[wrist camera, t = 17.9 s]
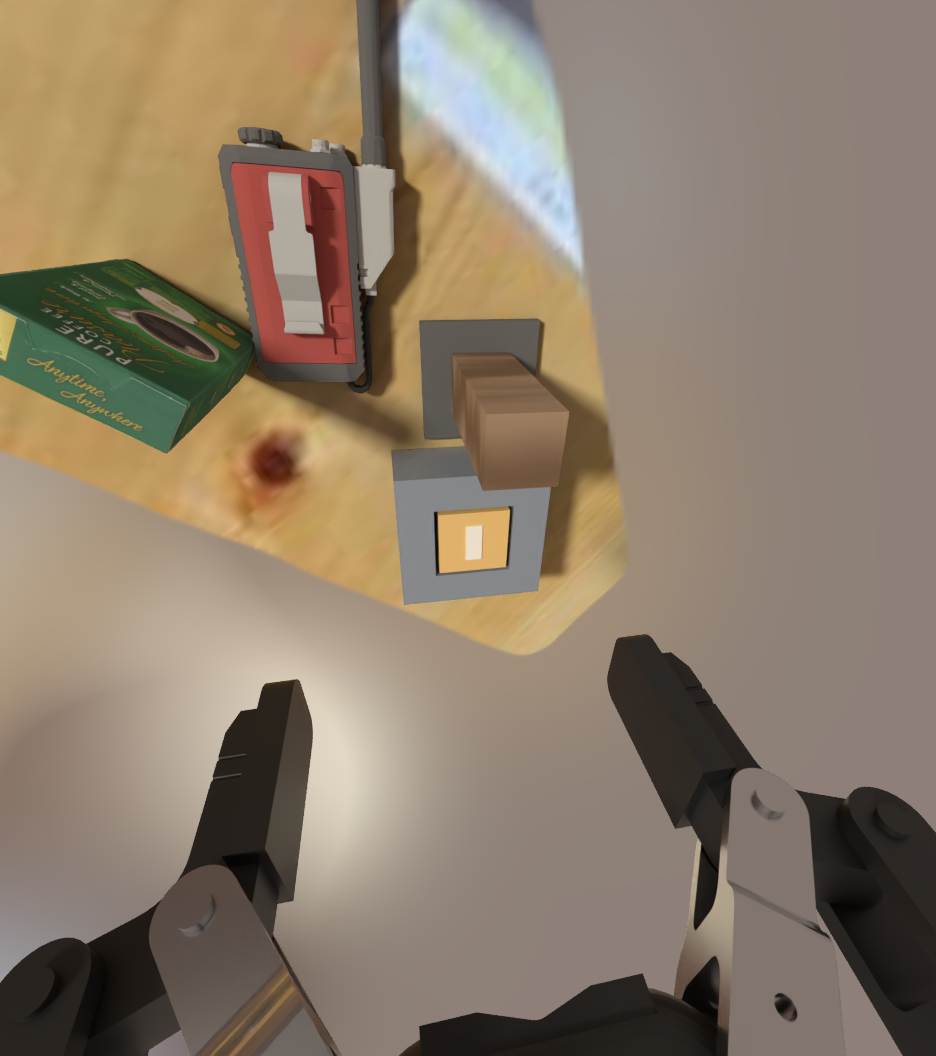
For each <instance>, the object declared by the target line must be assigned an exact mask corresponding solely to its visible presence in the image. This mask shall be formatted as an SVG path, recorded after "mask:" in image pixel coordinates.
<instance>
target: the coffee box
mask: <svg viewBox="0 0 936 1056" xmlns="http://www.w3.org/2000/svg"><path fill="white" fill-rule="evenodd" d="M252 338H253V336H252V335H250V334H249V333H247V332H246V331H244V330H242V329H241V328H240V327H238V326H237V325H235V324H234V323H232V322H230V321H229V320H226V319H224V318H223V317H221V316H219V315H218V314H216V313H214V312H213V311H211V310H209V309H208V308H206V307H205V306H203V305H202V304H200V303H198V302H197V301H195V300H193V299H192V298H190V297H189V296H187V295H185V294H184V293H182V292H181V291H179V290H177V289H176V288H174V287H172V286H171V285H169V284H168V283H166V282H165V281H163V280H161V279H160V278H158V277H157V276H155V275H153V274H151V273H150V272H148V271H147V270H145V269H143V268H142V267H140V266H138V265H137V264H135V263H134V262H132V261H130V260H129V259H120V260H119V259H114V260H108V261H104V262H97V263H88V264H80V265H73V266H64V267H55V268H47V269H39V270H32V271H23V272H14V273H7V274H0V376H3V377H5V378H7V379H9V380H11V381H13V382H15V383H17V384H19V385H22V386H24V387H26V388H28V389H30V390H32V391H34V392H36V393H38V394H40V395H42V396H45V397H47V398H49V399H51V400H53V401H55V402H57V403H59V404H62V405H64V406H66V407H68V408H70V409H72V410H74V411H76V412H79V413H81V414H83V415H85V416H87V417H89V418H91V419H93V420H95V421H98V422H100V423H102V424H104V425H106V426H108V427H110V428H112V429H114V430H116V431H119V432H121V433H123V434H125V435H127V436H129V437H132V438H134V439H136V440H138V441H140V442H142V443H144V444H146V445H149V446H151V447H153V448H155V449H157V450H159V451H161V452H163V453H166V454H167V453H168V452H169V451H170V450H172V448H173V447H174V446H175V445H176V444H177V443H178V442H179V441H180V440H181V439H182V438H183V437H184V436H185V435H186V434H187V433H189V432H190V431H191V430H192V429H193V428H194V427H195V426H196V425H197V424H198V423H199V422H200V421H201V420H202V419H203V418H204V417H205V416H206V415H207V414H208V413H209V412H210V411H211V410H212V409H213V408H214V407H215V406H216V404H217V403H218V402H219V401H220V400H221V399H222V398H223V397H224V396H226V395H227V394H228V393H229V392H230V391H231V389H232V388H233V387H234V386H235V385H236V384H237V383H238V382H239V381H240V379H242V377H243V376H244V374H245V373H246V371H247V369H248V367H249V365H250V363H251V361H252V359H253V357H254V355H255V353H256V352H255V351H254V347H255V345H254V342H253V341H252Z"/></svg>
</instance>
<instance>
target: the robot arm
mask: <svg viewBox="0 0 936 1056" xmlns="http://www.w3.org/2000/svg"><path fill="white" fill-rule="evenodd" d="M607 682H608V689H609V693H610V696H611V699H612V701H613V703H614V705H615V707H616V709H617V711H618V713H619V715H620V717H621V719H622V721H623V723H624V725H625V727H626V729H627V731H628V733H629V735H630V738H631V739H632V742H633V744H634V746H635V748H636V750H637V752H638V754H639V755H640V758H641V760H642V762H643V764H644V766H645V768H646V770H647V772H648V774H649V776H650V778H651V780H652V782H653V784H654V786H655V788H656V790H657V793H658V795H659V797H660V799H661V801H662V803H663V805H664V807H665V809H666V811H667V813H668V815H669V817H670V819H671V821H672V823H673V825H674V827H675V829H677V828H682V827H687V826H692V827H693V829H694V831H695V833H696V835H697V837H698V840H697V844H696V852H695V861H694V870H693V879H692V889H691V897H690V906H689V916H688V925H687V932H686V937H685V941H684V945H683V948H682V951H681V954H680V959H679V962H678V967H677V973H676V980H675V988H674V996H672V995H670V994H668V993H665V992H662V991H659V990H656V989H652V988H648V987H647V984H646V982H645V979H644V976H643V974H638V975H634V976H630V977H625V978H621V979H617V980H613V981H609V982H605V983H600V984H596V985H591V986H589V987H588V988H587V989H585V990H584V991H582V992H581V993H580V994H578V995H576V996H575V997H573V998H572V999H571V1000H569V1001H568V1002H566V1003H565V1004H563V1005H562V1006H560V1007H559V1008H557V1009H556V1010H555V1011H553V1012H552V1013H550V1014H549V1015H547V1016H546V1017H544V1018H543V1019H540V1020H527V1019H520V1018H512V1017H505V1016H498V1015H490V1014H484V1013H473V1014H469V1015H465V1016H460V1017H456V1018H453V1019H448V1020H444V1021H440V1022H435V1023H431V1024H427V1025H423V1026H419V1030H420V1040H418V1041H417V1042H416V1043H414V1044H413V1045H412V1046H410V1047H408V1048H407V1049H406V1050H405V1051H404V1052H403V1053H401V1054H400V1055H399V1056H846V1052H845V1041H844V1031H843V1021H842V1010H841V1001H840V989H839V979H838V969H837V960H836V954H835V949H834V946H833V943H832V941H831V939H830V937H829V936H828V935H827V934H826V933H825V932H823V931H821V929H820V927H819V925H818V922H817V916H816V909H817V911H818V912H819V914H820V916H821V918H822V919H823V921H824V923H825V924H826V926H827V928H828V929H829V931H830V933H831V934H832V936H833V938H834V940H835V941H836V943H837V945H838V946H839V948H840V950H841V952H842V953H843V955H844V957H845V958H846V960H847V961H848V963H849V965H850V967H851V968H852V970H853V972H854V973H855V975H856V977H857V979H858V980H859V982H860V984H861V986H862V987H863V989H864V991H865V992H866V994H867V996H868V997H869V999H870V1001H871V1003H872V1004H873V1006H874V1008H875V1009H876V1011H877V1013H878V1014H879V1016H880V1018H881V1019H882V1021H883V1023H884V1025H885V1026H886V1028H887V1030H888V1031H889V1033H890V1035H891V1037H892V1038H893V1040H894V1042H895V1043H896V1045H897V1047H898V1048H899V1050H900V1052H901V1054H902V1055H903V1056H936V832H935V831H934V830H933V829H932V828H931V827H930V825H929V824H928V823H927V822H926V821H925V820H924V818H923V817H922V816H921V815H920V814H919V813H918V812H917V811H916V810H915V809H913V808H912V807H911V806H910V805H909V804H907V803H906V802H905V801H903V800H902V799H900V798H898V797H897V796H895V795H893V794H891V793H889V792H887V791H884V790H881V789H878V788H873V787H861V788H857V789H855V790H854V791H853V792H852V793H851V794H850V795H849V796H848V797H847V799H843V798H837V797H831V796H825V795H819V794H813V793H807V792H803V791H798V790H795V789H794V788H793V787H792V786H790V784H788V783H787V782H786V781H785V780H783V779H782V778H780V777H779V776H777V775H775V774H773V773H771V772H769V771H766V770H763V769H762V768H761V767H760V766H759V765H758V764H757V763H756V761H755V760H754V759H753V757H752V756H751V754H750V753H749V752H748V750H747V749H746V747H745V746H744V744H743V743H742V742H741V740H740V739H739V737H738V736H737V734H736V733H735V732H734V730H733V729H732V727H731V726H730V724H729V723H728V722H727V720H726V719H725V717H724V716H723V715H722V713H721V712H720V710H719V709H718V707H717V706H716V704H713V702H712V699H711V697H710V696H709V694H708V693H707V692H706V690H705V689H703V688H702V684H701V683H700V682H699V680H698V679H697V677H696V676H695V674H694V673H693V671H692V670H691V669H690V667H689V666H687V665H686V664H685V663H684V662H682V661H681V660H680V659H679V658H677V657H676V656H675V655H674V654H672V653H671V652H669V653H662V652H661V651H660V649H659V648H658V646H657V645H656V643H655V642H654V640H653V639H652V638H651V637H650V636H649V635H646V634H644V635H636V636H628V637H621V638H618V639H617V640H616V643H615V647H614V651H613V655H612V659H611V663H610V668H609V671H608V676H607ZM312 739H313V729H312V720H311V715H310V712H309V709H308V706H307V703H306V699H305V697H304V693H303V690H302V687H301V684H300V681H299V680H297V679H296V680H289V681H281V682H273V683H266V684H265V685H264V686H263V688H262V691H261V695H260V699H259V703H258V707H257V709H252V710H245V711H241V712H240V713H239V714H238V716H237V717H236V719H235V720H234V722H233V723H232V724H231V726H230V727H229V729H228V730H227V732H226V733H225V736H224V740H223V743H222V746H221V750H220V753H219V761H217V764H216V767H215V770H214V774H213V781H212V782H211V784H210V788H209V791H208V794H207V798H206V801H205V805H204V809H203V812H202V815H201V819H200V822H199V825H198V829H197V832H196V836H195V839H194V843H193V846H192V849H191V853H190V856H189V860H188V862H187V864H186V867H185V869H184V871H183V873H182V874H181V876H180V878H179V879H178V881H177V882H176V883H175V884H174V885H173V886H172V887H171V888H170V889H169V890H168V892H167V893H166V894H165V895H164V897H163V898H162V900H160V901H159V902H158V903H157V904H156V905H155V906H153V907H152V908H150V909H149V910H148V911H146V912H145V913H143V914H141V915H140V916H138V917H136V918H135V919H132V920H131V921H129V922H127V923H125V924H123V925H121V926H119V927H117V928H115V929H114V930H112V931H110V932H108V933H106V934H104V935H102V936H100V937H98V938H97V939H95V940H93V941H91V942H89V943H87V944H85V943H83V942H82V941H81V940H78V939H75V938H62V939H58V940H54V941H51V942H49V943H47V944H45V945H43V946H41V947H39V948H38V949H36V950H35V951H34V952H31V953H30V954H29V955H28V956H26V957H25V958H24V959H23V960H21V962H19V963H18V964H17V965H16V966H15V967H14V968H13V969H12V970H11V971H10V972H9V974H7V975H6V977H5V978H4V979H3V980H2V982H1V983H0V1056H148V1051H149V1049H151V1048H153V1047H154V1046H155V1045H157V1044H159V1043H160V1042H162V1041H163V1040H165V1039H166V1038H168V1037H170V1036H171V1035H173V1034H175V1033H176V1032H178V1031H179V1030H182V1033H183V1036H184V1039H185V1041H186V1044H187V1047H188V1049H189V1052H190V1055H191V1056H342V1054H341V1052H340V1050H339V1049H338V1047H337V1045H336V1044H335V1042H334V1040H333V1038H332V1037H331V1035H330V1033H329V1032H328V1030H327V1029H326V1027H325V1025H324V1023H323V1022H322V1020H321V1018H320V1017H319V1015H318V1013H317V1011H316V1009H315V1008H314V1006H313V1004H312V1002H311V1000H310V999H309V997H308V995H307V993H306V991H305V990H304V988H303V986H302V984H301V982H300V981H299V979H298V977H297V975H296V973H295V972H294V970H293V968H292V967H291V964H290V963H289V961H288V960H287V957H286V955H285V954H284V952H283V950H282V948H281V947H280V945H279V943H278V941H277V939H276V938H275V936H274V934H273V931H274V923H275V917H276V910H277V904H279V903H284V902H289V901H293V899H294V891H295V890H294V889H295V883H296V874H297V866H298V858H299V849H300V841H301V832H302V825H303V816H304V808H305V800H306V790H307V782H308V774H309V766H310V758H311V749H312Z"/></svg>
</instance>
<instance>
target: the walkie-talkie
mask: <svg viewBox="0 0 936 1056" xmlns="http://www.w3.org/2000/svg"><path fill="white" fill-rule="evenodd" d="M356 3H357V22H358V42H359V61H360V80H361V100H362V119H363V137H362V138H361V156H362V167H358V166H352V165H351V163H350V161H349V160H348V158H347V155H345V146H344V145H341V144H328V141H326V140H320V139H312V149H310V152H308V151H297V150H286V149H278V147H281V146H282V145H283V139H282V135H281V134H280V133H279V132H277V131H273V130H268V129H263V128H255V127H243V128H239V130H238V135H239V139H240V141H241V142H243V143H244V144H246V146H241V145H222V147H221V150H220V152H219V154H218V157H219V163H220V172H221V178H222V183H223V188H224V190H225V195H226V201H227V206H228V212H229V221H230V227H231V232H232V235H233V239H234V244H235V250H236V255H237V257H238V258H239V262H240V264H239V265H238V266H239V268H240V269H241V273H242V276H240V277H241V280H243V284H244V287H242V288H243V290H244V291H245V295H246V297H245V301H246V302H247V306H248V308H246V309H247V312H249V317H250V318H249V319H248V320H249V322H250V323H251V328H250V331H251V332H252V334H253V338H252V341H253V342H254V345H255V347H254V351H255V352H256V361H258V366H257V368H258V369H259V370H260V371H261V372H262V373H263V374H264V375H265V376H266V377H267V378H268V379H269V380H273V381H311V382H347V383H348V385H349V387H350V388H351V389H352V390H353V391H354V392H358V393H364V392H366V391H368V390H369V388H370V386H371V383H372V364H371V346H370V325H369V313H370V309H371V307H372V305H373V300H374V295H375V296H377V290H376V281H377V279H378V277H379V276H380V274H381V273H382V271H383V270H384V268H385V267H386V265H387V264H388V262H389V261H390V259H391V258H392V256H393V254H394V213H393V190H394V188H395V186H396V180H395V170H392V169H387V161H386V141H385V140H384V138H383V120H382V90H381V59H380V29H379V0H356ZM358 263H359V265H358ZM359 273H360V277H359ZM362 289H366V295H367V301H366V304H365V306H364V311H363V306H361V303H362V297H361V296H360V295H361V291H362ZM362 311H363V316H362ZM363 330H364V334H363ZM364 349H365V351H364ZM365 365H366V382H365V384H364V385H362V386H360V385H356V384H355V383H354V381H356V380H357V379H358V378H359V376H360V375H361V374H362V373H363V371H364V370H365Z"/></svg>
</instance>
